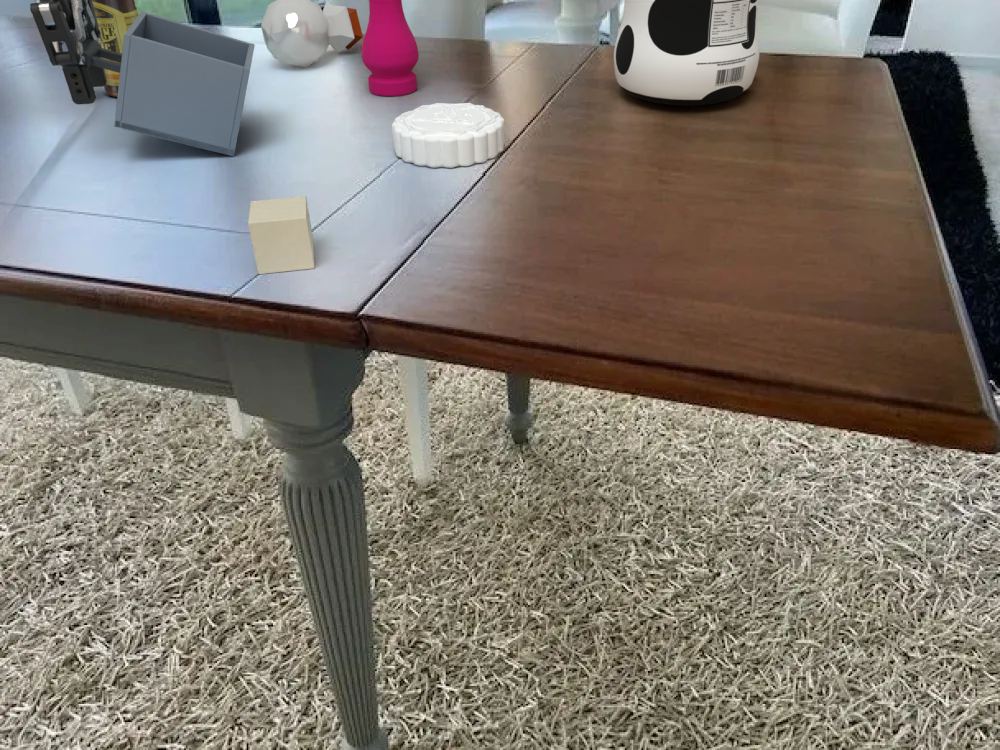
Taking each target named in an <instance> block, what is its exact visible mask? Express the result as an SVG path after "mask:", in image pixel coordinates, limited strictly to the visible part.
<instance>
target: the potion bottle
mask: <svg viewBox="0 0 1000 750" xmlns="http://www.w3.org/2000/svg"><path fill="white" fill-rule="evenodd" d="M260 27H261V32H262V38H263V42H264V44H265V46H266V49H267V51H269V53H270V54H271V56H272V57H273V58H274V59H276V60H277V61H279V62H280V63H282V64H283V65H285V66H291V67H298V68H299V67H300V68H308V67H310V66H311V65H313V64H315V63H316V62H318V61H319V60H321V59H322V58H324V56H325V55H326V52H327V50H328V48H329V46H331V48H333V50H334V51H335V52H336V53H337V54H340V53H341V52H342V51H343V50H344V49H346V50H347V51H349V50H350V49H352V48H353V47H354V46H355V45H356V44H357V43H358V42H360V40H361V39H363V38H364V36H363V31H362V27H361V23H360V19H359V15H358V11H357V8H351V7H347V6H342V5H336V4H335V5H334V4H328V3H324V6H323V9H322V8H321V6H320V5H319V4H318V3H317V2H315V1H312V0H275V1H273V2H271V3H270V4H268V5H267V8H266V10H265V13H264V16H263V19H262V22H261V25H260Z"/></svg>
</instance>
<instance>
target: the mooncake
mask: <svg viewBox="0 0 1000 750" xmlns="http://www.w3.org/2000/svg"><path fill="white" fill-rule="evenodd" d="M505 131H506V130H505V119H504V118H503V117H502V115H501V113H500V112H498V111H494V110H493V109H492V108H489V107H486V106H485V105H483V104H474V103H471V102H460V103H447V102H436V103H431V104H424V105H420V106H418V107H417V108H416V107H415V108H414V109H412V110H407V111H405V112H403V113H401V114H400V115H398V116H397V117H395V118H394V121H393V122H392V123H391V133H392V144H393V151H395V156H396V157H398V158H400V159H402V160H403V161H404V162H405V163H411V164H412V163H413V164H414V165H415V166H418V167H429V168H433V169H437V168H446V169H452V168H457V167H470V166H472V165H474V164H483V163H486V162H487V161H488V160H492V159H494V158H495V159H496V158H497V156H498V155H499V154H501V153H503V152H504V149H505V148H504V147H505V144H506V135H505V134H506V133H505Z"/></svg>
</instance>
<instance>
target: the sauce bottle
mask: <svg viewBox="0 0 1000 750" xmlns="http://www.w3.org/2000/svg"><path fill="white" fill-rule="evenodd" d="M92 2H93V6H94V10H95V14H96V18H97V22H98V26H99V30H100V32H101V35H100V36H101V37H100V38H97V39H98V40H99V44H100V46H101V48H103V49H107V50H110V51H114V52H118V53H121V54H122V50H123V41H124V34H125V33H126V31H127V30H128V29H129V27H130V26H131V25H132V23H133V22H134V21H135V19H136V18H137V17H138V15H139V12H138V7H137V6H136V1H135V0H92ZM100 58H101V57H100ZM102 59H105V58H102ZM106 60H108V59H106ZM109 61H112V60H109ZM113 62H116V61H113ZM117 63H119V62H117ZM120 64H121V63H120ZM104 71H105V75H106V78H107V83H106V85H105V86H103V87H104V90H105V92H106V94H107V95H108V96H111V97H113V98H115V97H116V98H117V96H118V87H119V78H120V73H118V72H114V71H111V70H107V69H104Z"/></svg>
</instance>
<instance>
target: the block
mask: <svg viewBox="0 0 1000 750" xmlns="http://www.w3.org/2000/svg"><path fill="white" fill-rule="evenodd" d="M308 205H309V204H308V199H307V195H303V196H291V197H281V198H270V199H260V200H251V201H250V204H249V213H248V221H247V226H248V230H249V235H250V240H251V244H252V245H251V246H252V250H253V256H254V260H255V264H256V269H257V274H258V275H265V274H266V275H267V274H274V273H275V274H276V273H285V272H292V271H293V272H294V271H303V270H304V271H305V270H311V269H315V267H316V266H315V242H314V237H313V230H312V225H311V218H310V212H309V206H308Z"/></svg>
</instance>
